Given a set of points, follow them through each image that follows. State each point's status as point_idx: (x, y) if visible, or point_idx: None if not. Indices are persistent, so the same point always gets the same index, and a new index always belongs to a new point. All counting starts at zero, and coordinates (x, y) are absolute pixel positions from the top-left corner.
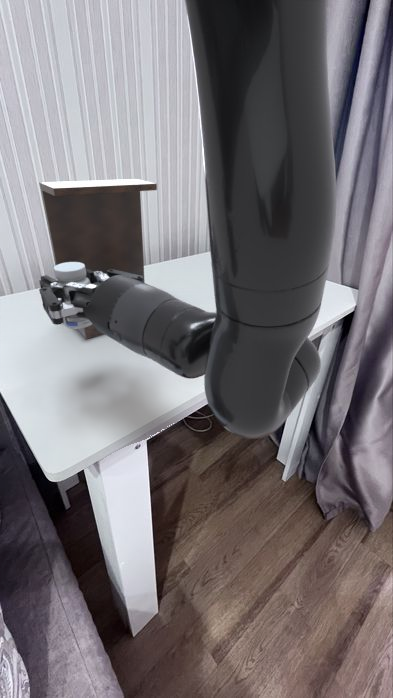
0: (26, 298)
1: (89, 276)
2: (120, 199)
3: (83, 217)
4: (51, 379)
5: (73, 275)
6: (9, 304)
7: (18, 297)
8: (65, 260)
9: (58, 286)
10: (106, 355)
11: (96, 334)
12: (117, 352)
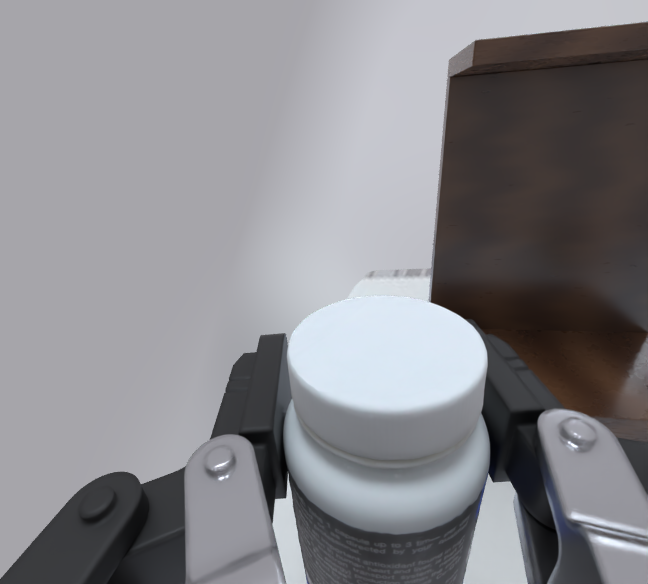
0: (383, 290)
1: (497, 417)
2: None
3: (536, 147)
4: (301, 555)
5: (364, 439)
6: (354, 295)
7: (373, 285)
8: (456, 246)
9: (197, 521)
10: (475, 550)
11: None
12: (514, 559)
